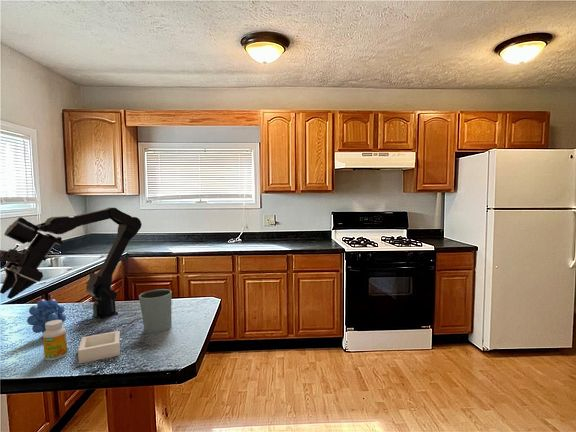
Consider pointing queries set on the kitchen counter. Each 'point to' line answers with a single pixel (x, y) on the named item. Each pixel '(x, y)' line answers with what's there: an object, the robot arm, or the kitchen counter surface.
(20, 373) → the kitchen counter surface
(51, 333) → the supplement bottle
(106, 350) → the cream square tray
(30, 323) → the grapes
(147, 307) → the grey green cup
